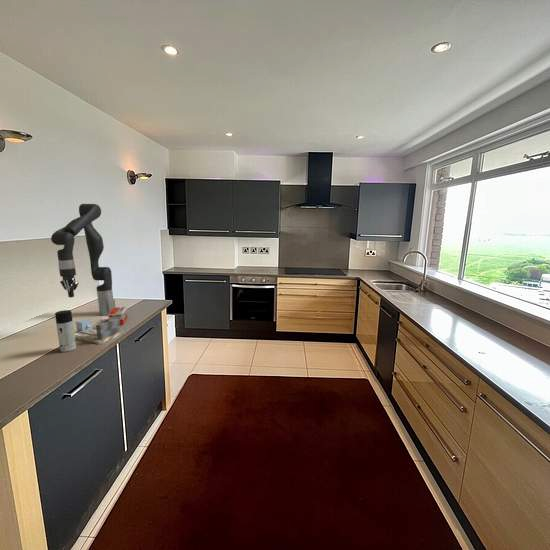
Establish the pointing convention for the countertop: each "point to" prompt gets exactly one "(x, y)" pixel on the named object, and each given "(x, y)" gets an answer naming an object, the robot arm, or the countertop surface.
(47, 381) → the countertop surface
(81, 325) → the gauge slider
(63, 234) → the robot arm
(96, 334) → the base
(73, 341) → the spray can
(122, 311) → the medicine box
